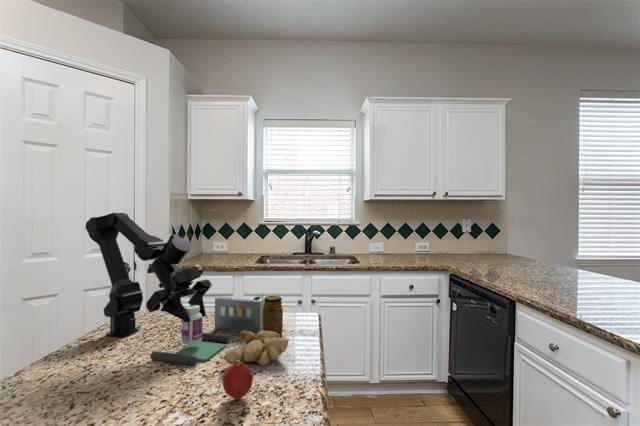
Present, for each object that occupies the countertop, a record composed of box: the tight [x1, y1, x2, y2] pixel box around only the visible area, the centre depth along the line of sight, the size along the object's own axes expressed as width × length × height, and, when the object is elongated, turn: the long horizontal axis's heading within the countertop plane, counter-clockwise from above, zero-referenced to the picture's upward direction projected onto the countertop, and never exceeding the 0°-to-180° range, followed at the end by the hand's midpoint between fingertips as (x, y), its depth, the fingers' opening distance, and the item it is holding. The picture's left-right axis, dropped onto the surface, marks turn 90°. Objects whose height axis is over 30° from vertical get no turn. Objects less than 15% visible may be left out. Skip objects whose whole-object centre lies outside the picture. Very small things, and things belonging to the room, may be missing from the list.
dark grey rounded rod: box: [149, 350, 199, 366], centre depth 82 cm, size 13×2×2 cm, turn 76°
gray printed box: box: [214, 296, 264, 335], centre depth 104 cm, size 16×3×10 cm, turn 76°
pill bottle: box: [181, 304, 203, 346], centre depth 89 cm, size 5×5×10 cm
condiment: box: [263, 295, 290, 341], centre depth 99 cm, size 7×8×12 cm
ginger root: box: [222, 330, 289, 367], centre depth 84 cm, size 16×16×8 cm
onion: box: [222, 360, 253, 401], centre depth 65 cm, size 6×6×8 cm
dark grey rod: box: [202, 331, 230, 343], centre depth 96 cm, size 13×2×2 cm, turn 76°
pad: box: [174, 341, 227, 363], centre depth 88 cm, size 10×10×1 cm
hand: (197, 318), depth 88 cm, fingers closed on pill bottle, 5 cm apart
